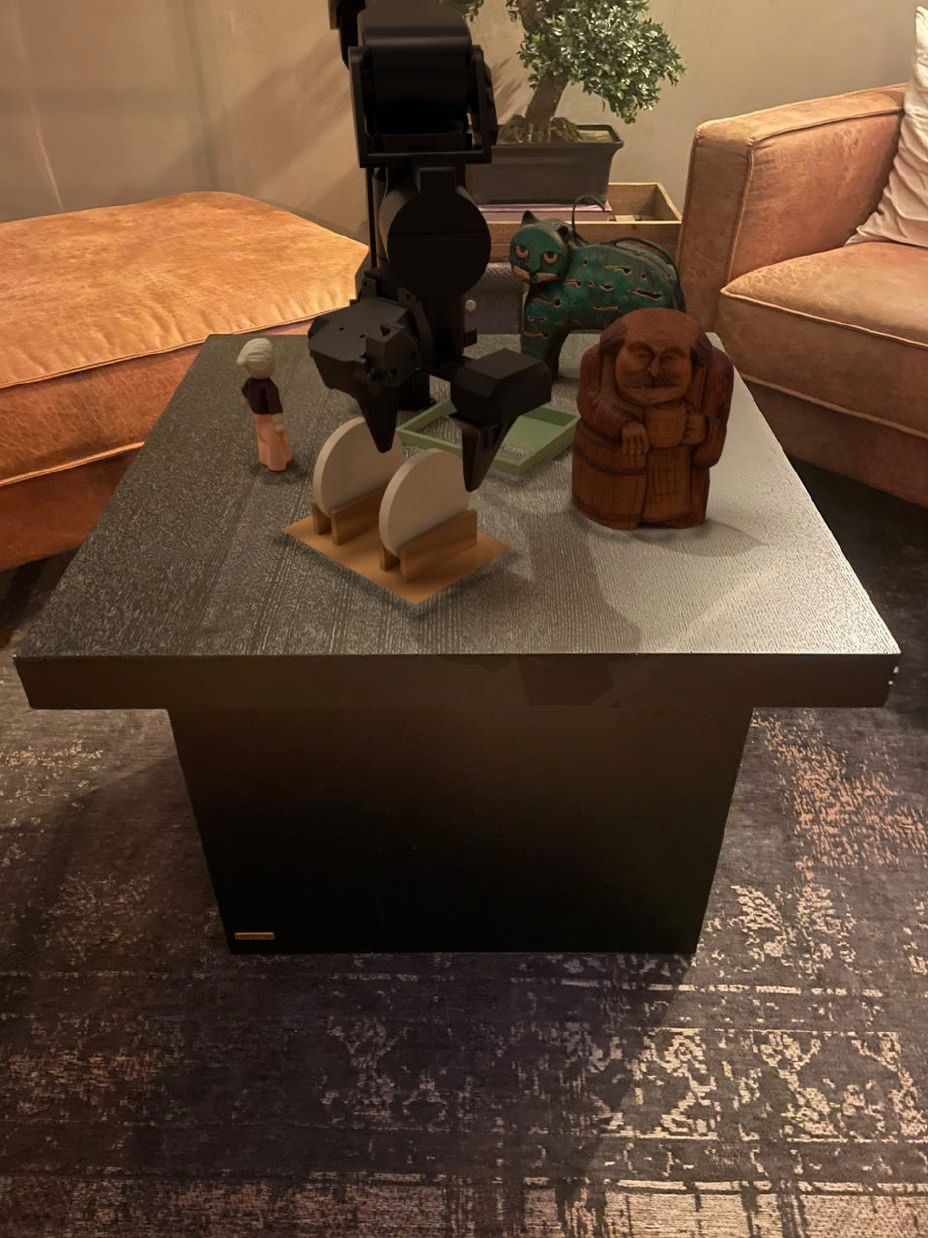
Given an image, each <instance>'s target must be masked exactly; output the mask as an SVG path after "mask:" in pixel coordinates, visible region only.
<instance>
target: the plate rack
mask: <svg viewBox="0 0 928 1238" xmlns="http://www.w3.org/2000/svg"><path fill="white" fill-rule="evenodd" d="M388 485H389V483H388V484H386V485H384V486H382V487H380V488H378V489H376V490H373V491H371V492H369V493H367V494H365V495H363V496H361V497H359V498H357V499H355V500H352V501H350V502H348V503H346V504H344V505H342V506H340V507H338V508H336V509H333V510H331V511H330V517H331V519H329V518H328V517H326V516H325V515H324V514H323V513H322V512H321V510H320V508H319V507H318V505H317V503H316V500H315V498H314V499H313V500H311V501H310V505H311V508H310V509H311V515H308V516H306V517H304V518H302V519H300V520H298V521H296V522H294V523H292V524H290V525H288V526H285V527H284V528H281V529H280V530H281V531H282V532H284V533H286V534H287V535H289V536H291V537H292V538H294V539H296V540H298V541H300V542H302V543H303V544H305V545H307V546H309V547H311V548H312V549H315V550H316V551H318V552H319V553H322V554H323V555H325V556H326V557H328V558H330V559H332V560H333V561H336V562H337V563H339V564H341V565H343V566H345V567H347V568H348V569H350V570H352V571H353V572H355V573H357V574H359V575H361V576H362V577H364V578H366V579H367V580H369V581H371V582H373V583H375V584H377V585H379V586H380V587H382V588H384V590H385V589H386V590H387V591H389V592H391V593H392V594H394V595H396V596H397V597H399V598H401V599H403V600H405V601H406V602H409V603H410V604H412V605H413V606H417V605H419V604H421V603H422V602H424V601H426V600H427V599H429V598H430V597H432V596H434V595H436V594H438V593H439V592H440V591H443V590H445V588H447V587H449V586H451V585H452V584H455V583H456V582H457V581H459V580H461V579H463V578H464V577H466V576H468V575H469V574H471V573H472V572H474V571H476V570H478V569H480V568H481V567H482V566H484V565H486V564H487V563H489V562H491V561H493V560H495V559H497V557H500V556H501V555H503V554H504V553H506V552H508V551H510V550H511V549H512V548H513V546H511V545H508V544H506V543H504V542H503V541H500V540H498V539H496V538H494V537H492V536H490V535H488V534H486V533H483V532H481V531H479V530H478V511H477V510H476V509H474V508H471V509H468V510H467V512H465V513H463V514H461V515H459V516H457V517H456V518H454V519H452V520H450V521H448V522H446V523H444V524H442V525H441V526H439V527H437V528H435V529H433V530H431V531H429V532H428V533H426V534H424V535H422V536H420V537H418V538H416V539H414V540H413V541H411V542H409V543H407V544H405V545H403V546H401V547H400V559H398V558H396V557H395V556H393V555H391V554H390V553H389V552H388V551H387V549H386V548H385V546H384V544H383V542H382V539H381V536H380V531H379V514H380V507H381V503H382V500H383V497H384V494H385V491H386V489H387V487H388Z"/></svg>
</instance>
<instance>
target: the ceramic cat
mask: <svg viewBox="0 0 928 1238" xmlns="http://www.w3.org/2000/svg"><path fill="white" fill-rule="evenodd" d="M584 199H589V200H591V201H593V202H594V203H595V204H597V206H598V207H599V208H600V209H601V211H602V212H603V213H604V212H605V211H606V207H605V204H604V203H603V202H602V200H600V198H599V197H598V196H596V195H593V194H583V195H580V196H579V197H577V198H576V199H575V201H574V203H573V205H572V211H571V224H569V223H568V222H567V221H564V220H562V219H560V218H557V217H550V218H546V219H545V218H544V219H542V220H540V219H539V218H537V217H536V216H535V214H534V213H533V212H532V211H530V210H529V209H526V210H525V212H523V215H522V218H521V221H520V224H519V225H520V226H519V228H518V229H517V231H516V232H515V233H514V234H513V236H512V237H511V240H510V242H509V251H508V252H509V254H508V255H509V257H508V258H509V264H510V270H511V273H512V274H513V275H514V277H516V278H517V279H519V280H520V281H521V282H523V283H525V284H527V285H528V286H529V288H528V291H527V294H526V296H525V299H524V302H523V303H524V304H523V308H522V311H523V312H522V313H523V314H522V329H521V332H520V337H519V344H520V353H521V354H524V355H528V356H531V357H534V358H537V359H540V360H543V361H544V362H545V363H546V364H547V366H548V367H549V368H550V369H551V371H552V378H553V377H555V376H556V375H558V374H559V370H560V356H561V353H562V352H561V351H562V348H563V345H564V343H566V340H567V339H568V337H569V335H570V334H571V332H575V331H583V330H596V331H602V332H603V331H604V330H605V329H606V328H608V327H609V326H610V325H611V324H612V323H613V322H614V321H616V320H617V319H619V318H621V317H623V316H624V315H626V314H628V313H630V312H633V311H635V310H639V309H644V308H667V309H673V310H677V311H680V312H682V313H684V314H686V315H688V312H687V306H686V299H685V293H684V290H683V287H682V283H681V282H682V281H681V275H680V270H679V268H678V265H677V263H676V261H675V259H674V258H673V256H672V255H671V254H670V252H669V251H668V250H667V249H666V248H665V247H662V246H661V245H659V244H658V243H655V242H653V241H651V240H648V239H645V238H641V237H638V236H637V237H636V236H630V235H629V236H621V237H616V238H613V239H607V240H602V241H597V242H593V241H591V240H588V239H586V238H584V237H583V236H582V235H581V234H580V233H578V231H577V230H576V229H577V228H576V221H575V213H576V212H575V211H576V207H577V205H578V203H579V202H580V201H582V200H584ZM628 241H629V242H635V243H639V244H642V245H644V246H646V247H648V248H652V249H654V250H656V251H658V252H659V253H660V254H661V255H662V256H664V258H665V259H666V260H667V261H668V263H669V264H670V265H671V266H672V268H673V269H672V268H671V267H670V266H669V265H668V264H667V263H666V262H665V261H664V260H663V259H662V258H661V257H659V255H657V254H655V253H654V252H651V251H649V250H647V249H644V248H642V247H639V246H637V245H632V244H628V243H623V242H628ZM673 270H674V271H673ZM674 272H675V273H674Z"/></svg>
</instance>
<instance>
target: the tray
mask: <svg viewBox="0 0 928 1238" xmlns="http://www.w3.org/2000/svg"><path fill="white" fill-rule="evenodd" d="M455 411H457V410H456V408H455V407H454V405H453V403H452V402H451V400H450V395H449V396H447V397H446V398H444V399H442V400H441V401H440V402H438V403H436V404H435V405H433V406H431V407H430V408H428V409H426V410H424V411H423V412H420V414H418V415H416V416H414V417H413V418H411V419H409V420H407V421H406V422H404V423H402V424H400V426H398V427H396V430H395V431H396V433H397V434H398V436H399V438H400V440H401V443H402V444H406V445H409V446H413V447H416V448H419V449H423V450H426V449H431V448H438V449H443V450H446V451H448V452H450V453H453V454H455V455H456V456H458V457H459V458H460V459H461V460H462V461H463V458H462V444H457V443H454V442H450V441H446V440H443V439H440V438H436V437H433V436H429V435H425V434H421V433H418V431H419V430H422V429H423V428H424V427H426V426H427V425H429V424H431V423H432V422H434V421H435V420H438V419H439V418H440V417H442V418H445V419H448V420H450V421H452V420H451V419H450V418H449V417H448V414H451V413H453V412H455ZM580 417H581V415H580V413H579V412H575V411H570V410H567V409H562V408H559V407H555V406H551V405H547V404H544V405H542V406H540V407H538V408H536V409H534V410H532V411H530V412H528V413H525V414H523V415H521V416H519V417H518V418H517V420H516V421H515V423H514V424H513V426H512V427H511V429H510V430H509V432H508V433H507V435H506V437H505V438H504V440H503V442H506V443H509V444H512V445H515V446H517V447H520V448H522V449H525V450H527V451H529V452H528V453H527V454H525V455H524V456H523V457H522V458H520V459H518V461H517V460H513V459H510V458H505V457H503V456H498V455H496V456H495V458H494V460H493V461H492V463H491V465H490V467H489V469H490V470H491V469H492V470H495V471H498V472H501V473H505V474H507V475H512V476H515V477H517V478H520V477H521V476H522V475H524V474H525V473H527V472H528V471H529V470H530V469H532V468H533V467H534V466H535V465H536V464H538V463H539V462H540V461H542V460H543V459H545V458H547V459H549V460H553V459H555V458H556V457H558V455H560V454H561V453H562V452H564V451H565V450H567V448H569V447H570V446H571V445H572V444H573V443H574V435H575V429H576V424H577V421H578V419H580Z"/></svg>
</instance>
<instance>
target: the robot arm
mask: <svg viewBox="0 0 928 1238" xmlns="http://www.w3.org/2000/svg"><path fill="white" fill-rule="evenodd" d="M440 1H441V0H327V10H328V21H329V22H328V23H329V30H330V31H337V32H338V33H337V35H338V44H339V49H340V55H341V61H342V62H343V64H344V65H345V67H346V69H347V70H348V74H349V77H348V78H349V88H350V89H349V90H350V102H351V111H352V119H353V120H352V121H353V130H354V138H355V146H356V147H355V148H356V156H357V164H358V168H359V169H364V187H365V205H366V206H365V207H366V223H367V224H366V225H367V240H368V242H367V244H368V251H367V253H366V255H365V257H363V258H364V259H363V260H362V262H361V264H360V265H359V267H358V268H357V270H356V272H355V274H354V289H355V291H354V292H355V298H349V299H348V301H349V304H348V306H344V307H341V308H338V309H335V310H331V311H329V312H325V313H323V314H319V315H316V316H315V317H314V319H313V321H312V323H311V325H310V327H308V330H307V340H308V341H307V348H308V351H309V357H310V358H312V360H313V362H314V365H315V367H316V369H317V371H318V373H319V376H320V378H321V380H322V383H323V385H324V387H326V388H327V389H329V390H334V389H335V390H337V391H339V392H341V393H344V394H347V395H348V396H350V397H351V398H352V399H354V400H356V403H357V405H358V408H359V410H360V412H361V415H362V417H364V419H365V421H366V424H367V426H368V428H369V431H370V433H371V435H372V438H373V440H374V443H375V445H376V447H377V450H378V451H379V452H380V453H386V452H388V451H390V450H391V449H392V445H393V440H394V435H395V430H396V428H397V420H398V412H399V411H406V412H419V411H420V410H424V411H426V410H428V409H429V408H431V407H433V406H434V405H436V404H437V399H436V398H434V397H431V380H430V379H431V378H430V377H431V376H432V377H434V378H437V379H440V380H443V381H446V382H449V396H450V400H451V402H452V403H453V405H454V407H455V408H456V410H457V411H455V412H453V413H451V414H448V417H449V418H450V419H451V420H450V419H449V420H450V421H452V422H453V423H454V424H455V425H456V426H457V427H458V428H459V429H460V432H461V446H462V458H463V460H462V461H463V477H464V483H465V490H466V491H467V492H471V493H473V492H474V491H478V489H479V488H480V487H481V485H482V484H483V481H484V479H485V477H486V475H487V473H488V471H489V469H490V468H489V467H490V465H491V463H492V461H493V460H494V458H495V456H497V454H498V451H499V449H500V448H501V446H502V445H503V442H504V438H505V437H506V435H507V433H508V432H509V430H510V429H511V427H512V426H513V424H514V423H515V421H516V420H517V418H518V417H519V416H521V415H523V414H525V413H528V412H530V411H532V410H534V409H536V408H538V407H540V406H542V405H547V404H548V403H551V402H552V397H553V396H552V395H553V393H552V392H553V377H552V371H551V369H550V368H549V367H548V366H547V364H546V363H545V362H544V361H543V360H540V359H537V358H534V357H531V356H528V355H524V354H521V352H518V351H515V350H511V349H508V348H506V347H503V348H501V349H498V350H496V351H493V352H491V353H488V354H485V355H484V356H481V357H479V358H473V357H469V356H467V355H464V353H465V349H466V348H468V347H470V346H473V345H476V344H478V328H476V327H473V326H470V325H467V324H466V293H467V292H469V291H470V290H472V288H474V286H476V285H478V283H479V282H480V280H481V278H482V277H483V275H484V274H485V273H486V270H487V268H488V265H489V263H490V259H491V252H492V236H491V233H490V229H489V226H488V222H487V220H486V218H485V217H484V215H483V213H482V211H481V210H480V209H479V207H478V206H477V204H476V203H475V201H474V200H473V198H472V197H471V196H470V193H469V191H468V188H467V179H466V177H467V175H466V173H467V172H466V171H467V170H466V168H467V167H466V166H476V165H479V166H480V165H492V163H493V162H492V161H493V152H492V146H497V142H498V137H499V123H498V116H497V108H496V100H495V93H494V86H493V78H492V71H491V68H490V66H489V65H488V64H487V62H486V61H485V54H484V49H482V46H481V44H473V39H472V33H471V29H470V26H469V25H468V23H467V21H466V19H465V17H464V16H463V14H462V13H461V12H460V11H459V10H458V9H456V8H453V7H451V6H448V5H445V4H443V3H440ZM468 114H469V116H468ZM469 117H470V120H469ZM470 122H471V130H472V132H469V131H470ZM473 141H474V143H473Z"/></svg>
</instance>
